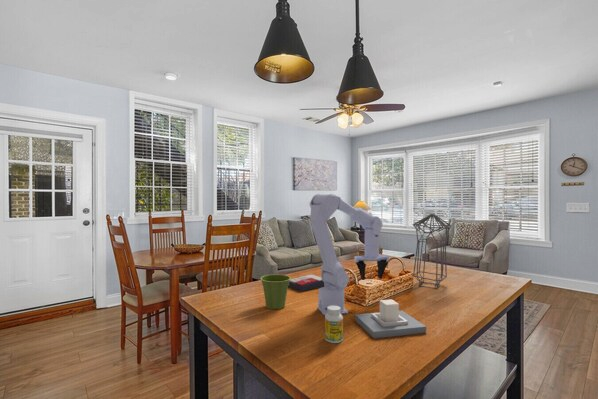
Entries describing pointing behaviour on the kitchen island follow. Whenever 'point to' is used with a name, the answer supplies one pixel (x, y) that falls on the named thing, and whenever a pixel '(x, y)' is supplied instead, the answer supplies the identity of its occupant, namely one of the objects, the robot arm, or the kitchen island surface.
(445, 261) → the geometric lantern
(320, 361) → the kitchen island surface
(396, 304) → the cream block
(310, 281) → the dark product box
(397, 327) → the display plinth
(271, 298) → the plant pot
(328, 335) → the supplement bottle
